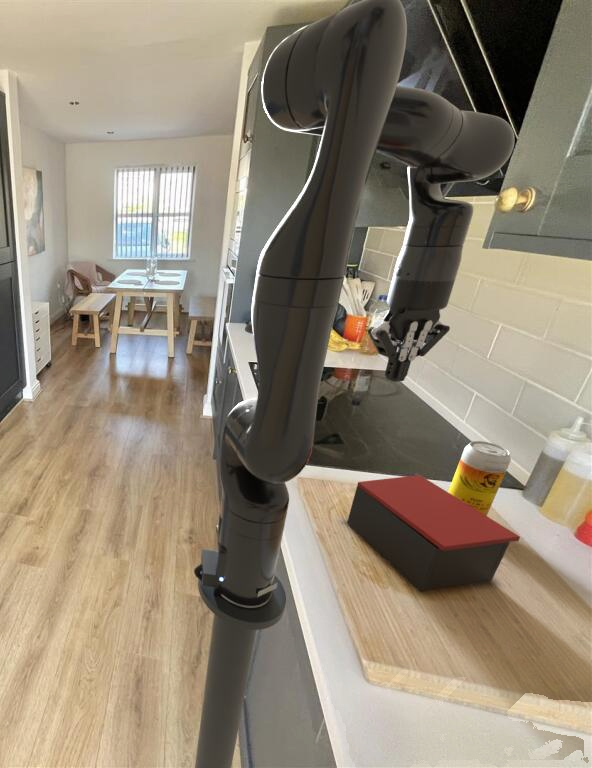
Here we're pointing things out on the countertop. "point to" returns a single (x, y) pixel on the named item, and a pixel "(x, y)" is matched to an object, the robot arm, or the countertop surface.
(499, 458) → the beer can
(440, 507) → the lid
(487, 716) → the countertop surface
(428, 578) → the black storage bin
